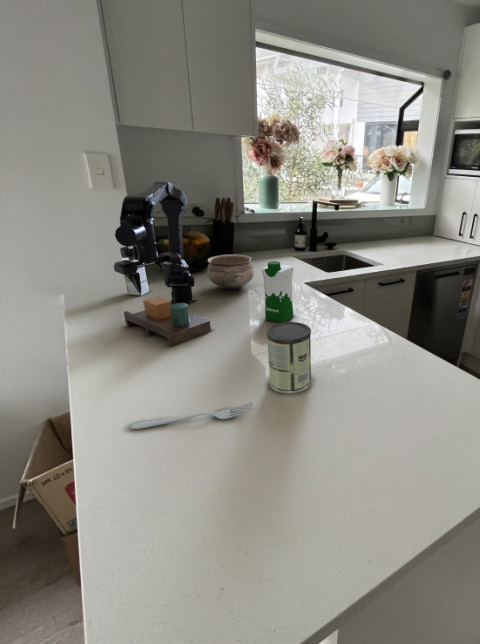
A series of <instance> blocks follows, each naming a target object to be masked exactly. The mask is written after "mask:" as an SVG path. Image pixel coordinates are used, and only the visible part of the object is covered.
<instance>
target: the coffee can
mask: <svg viewBox="0 0 480 644" xmlns="http://www.w3.org/2000/svg"><path fill="white" fill-rule="evenodd" d="M265 333H266V340H267V355H268V356H267V357H268V372H269V373H268V374H269V386H270V388H271V389H272V390H273V391H275V392H276V393H280V394H291V395H292V394H298V393H300V392H303V391H306V390H307V389H308V388H309V387H310V386H311V384H312V355H311V354H312V353H311V347H312V345H311V340H312V339H311V335H312V329H311V327H310V326H309V325H307V324H305V323H302V322H297V321H286V322H283V323H278V322H277V323H275V324H272V325H270V326H269V327H267V329H266V331H265Z"/></svg>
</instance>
